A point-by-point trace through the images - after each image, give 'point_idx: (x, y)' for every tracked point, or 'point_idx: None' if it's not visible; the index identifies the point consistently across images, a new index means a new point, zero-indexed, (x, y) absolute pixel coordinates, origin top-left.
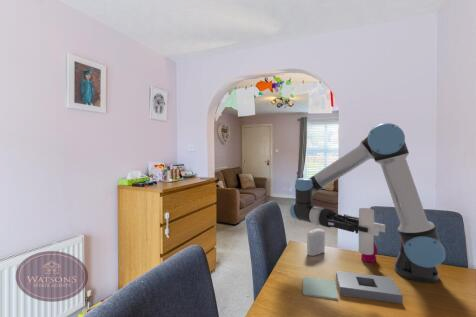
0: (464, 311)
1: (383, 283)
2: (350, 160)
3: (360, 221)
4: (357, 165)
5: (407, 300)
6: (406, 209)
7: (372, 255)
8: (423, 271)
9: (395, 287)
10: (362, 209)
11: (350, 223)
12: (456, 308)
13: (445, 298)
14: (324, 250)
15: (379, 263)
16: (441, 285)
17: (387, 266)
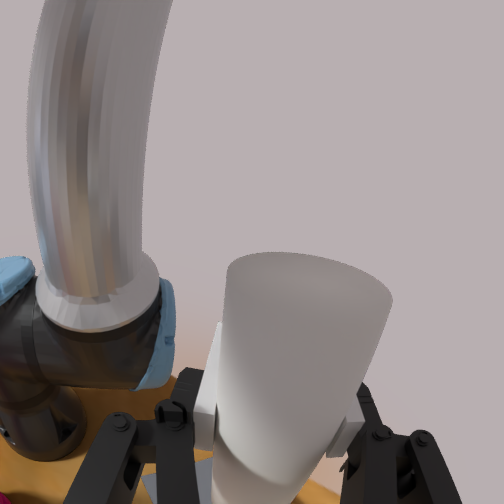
0: (174, 379)
1: (202, 492)
2: None
3: (349, 407)
4: None
5: (206, 453)
6: (139, 198)
7: (1, 496)
8: (74, 398)
9: (202, 465)
10: (346, 296)
11: (394, 482)
12: (172, 386)
13: (141, 395)
14: None
15: (12, 489)
16: (83, 390)
17: (23, 473)
